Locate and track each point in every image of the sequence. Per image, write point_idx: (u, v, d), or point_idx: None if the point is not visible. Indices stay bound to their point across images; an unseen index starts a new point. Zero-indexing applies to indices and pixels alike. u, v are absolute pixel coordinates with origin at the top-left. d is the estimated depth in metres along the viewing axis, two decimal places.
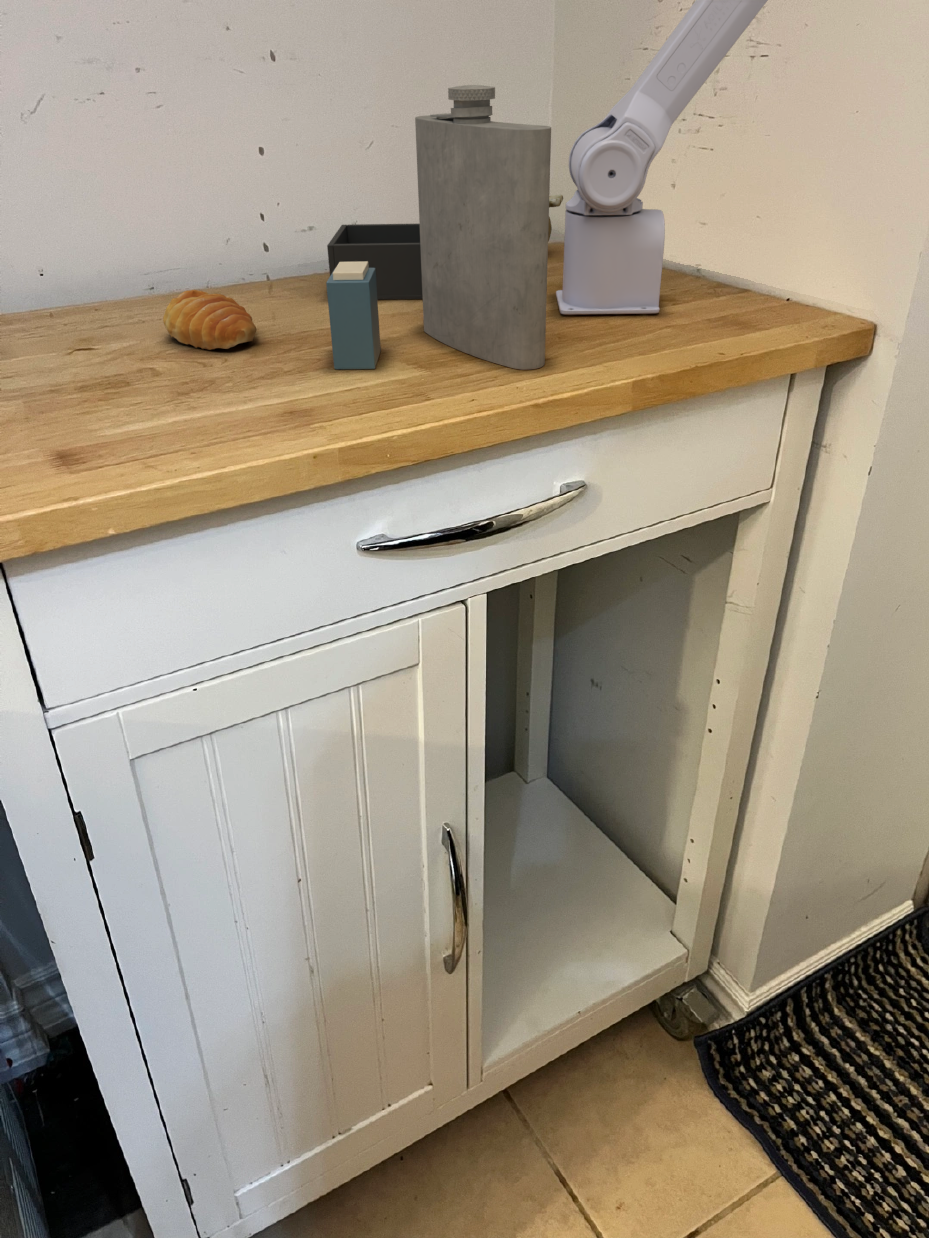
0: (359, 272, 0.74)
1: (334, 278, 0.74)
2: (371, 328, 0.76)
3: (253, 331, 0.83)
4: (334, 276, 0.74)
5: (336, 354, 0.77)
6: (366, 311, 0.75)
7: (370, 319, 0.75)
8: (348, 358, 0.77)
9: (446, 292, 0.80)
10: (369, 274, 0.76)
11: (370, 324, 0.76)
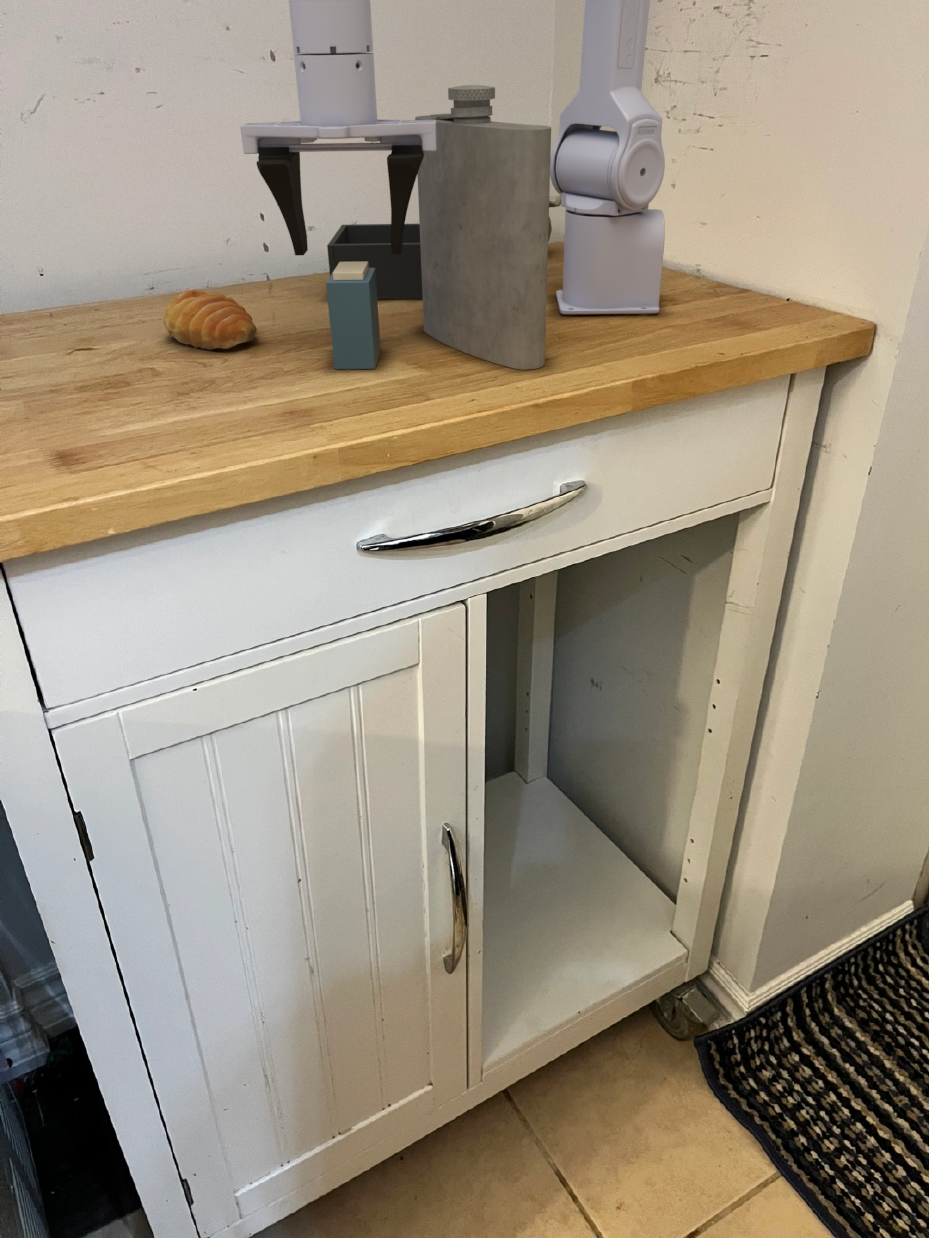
0: (359, 272, 0.74)
1: (334, 278, 0.74)
2: (371, 328, 0.76)
3: (253, 331, 0.83)
4: (334, 276, 0.74)
5: (336, 354, 0.77)
6: (366, 311, 0.75)
7: (370, 319, 0.75)
8: (348, 358, 0.77)
9: (446, 292, 0.80)
10: (369, 274, 0.76)
11: (370, 324, 0.76)
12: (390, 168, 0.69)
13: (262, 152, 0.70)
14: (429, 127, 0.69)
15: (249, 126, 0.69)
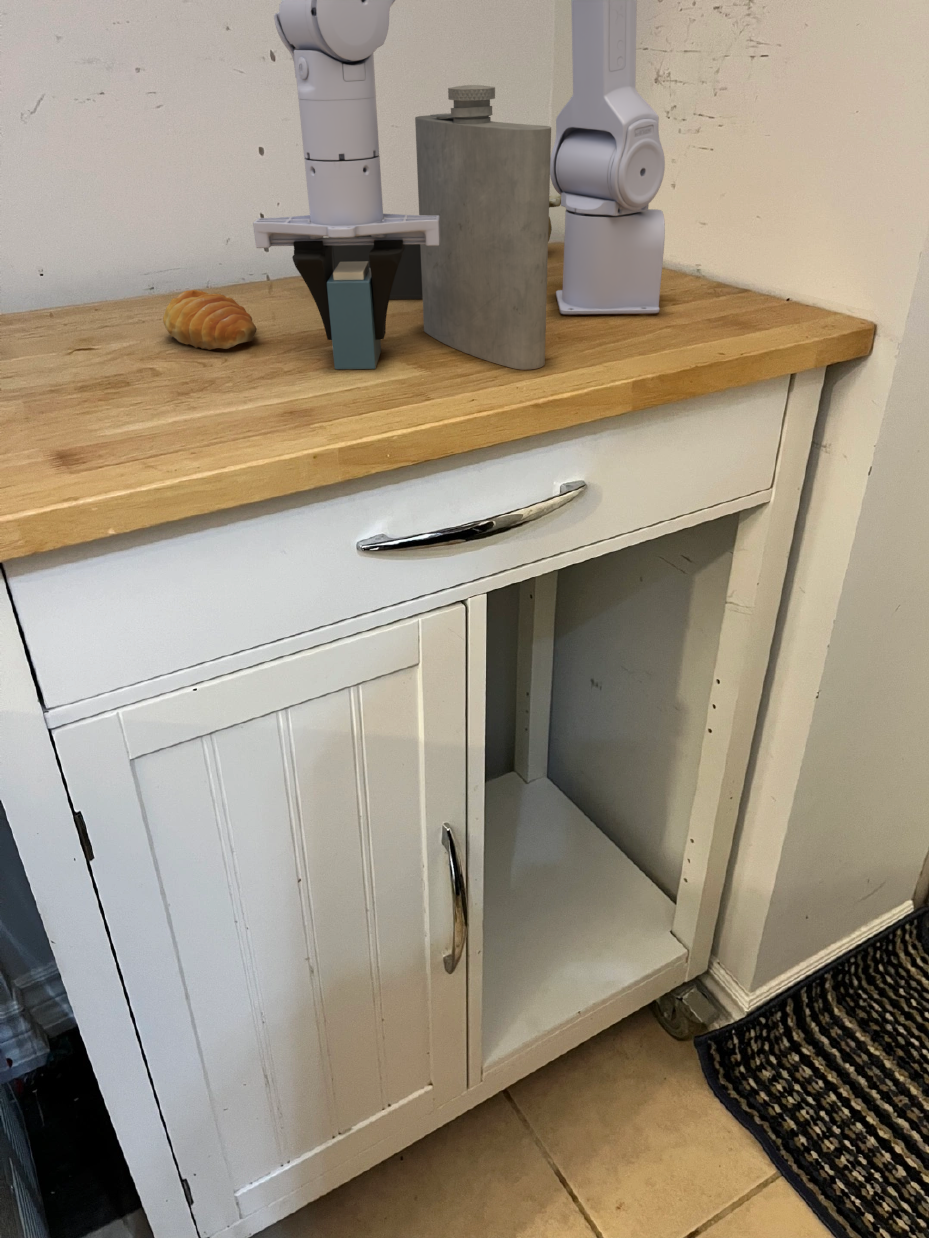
0: (359, 272, 0.74)
1: (334, 278, 0.74)
2: (371, 328, 0.76)
3: (253, 331, 0.83)
4: (334, 276, 0.74)
5: (336, 354, 0.77)
6: (367, 311, 0.75)
7: (370, 319, 0.75)
8: (349, 358, 0.77)
9: (446, 292, 0.80)
10: (369, 274, 0.76)
11: (370, 324, 0.76)
12: (372, 263, 0.73)
13: None
14: (432, 224, 0.73)
15: (261, 223, 0.73)
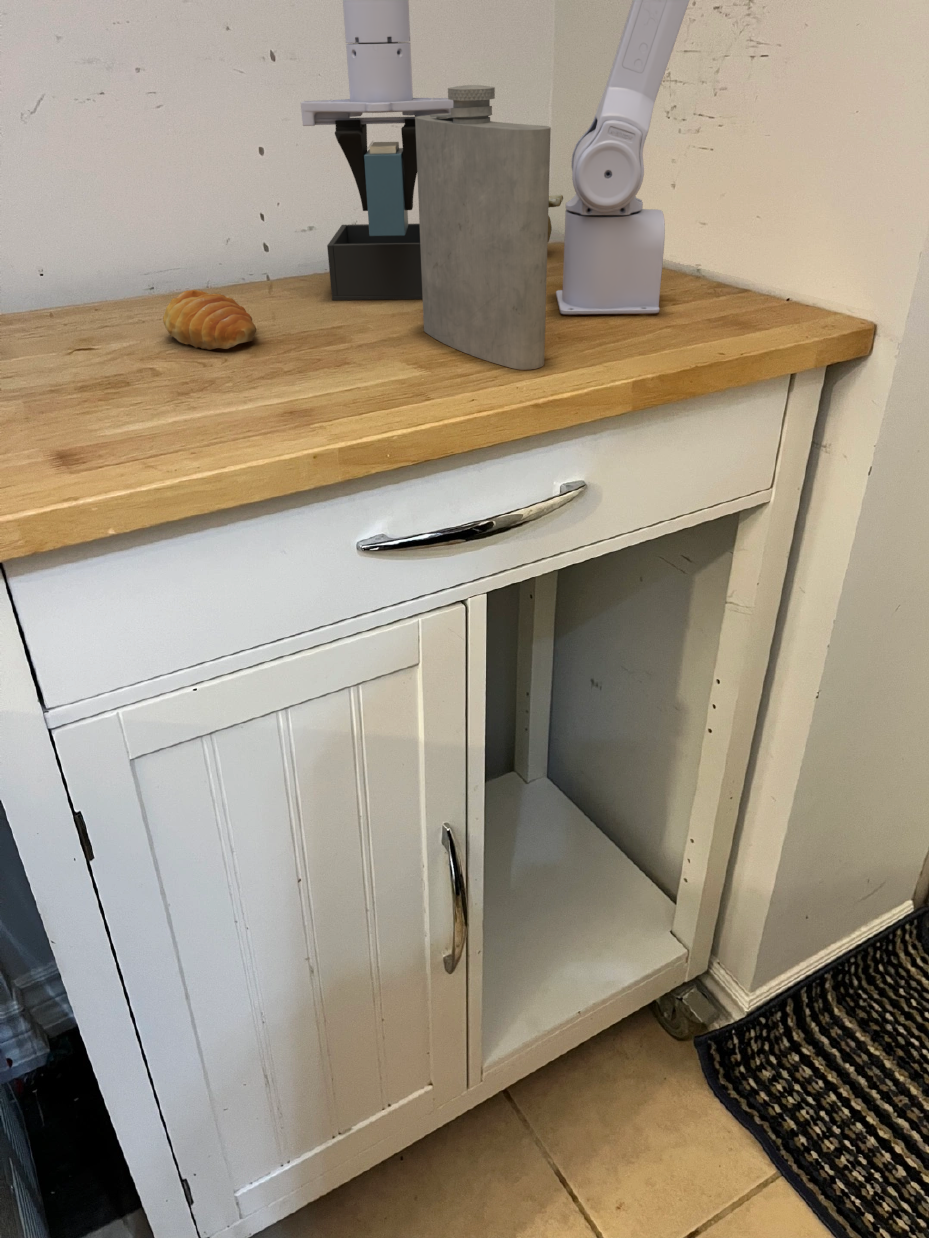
0: (392, 146, 0.86)
1: (371, 152, 0.86)
2: (402, 197, 0.87)
3: (253, 331, 0.83)
4: (371, 150, 0.86)
5: (371, 222, 0.89)
6: (398, 182, 0.87)
7: (401, 189, 0.87)
8: (382, 225, 0.89)
9: (446, 292, 0.80)
10: (400, 151, 0.87)
11: (401, 194, 0.87)
12: (404, 137, 0.85)
13: (318, 124, 0.86)
14: None
15: (308, 103, 0.85)
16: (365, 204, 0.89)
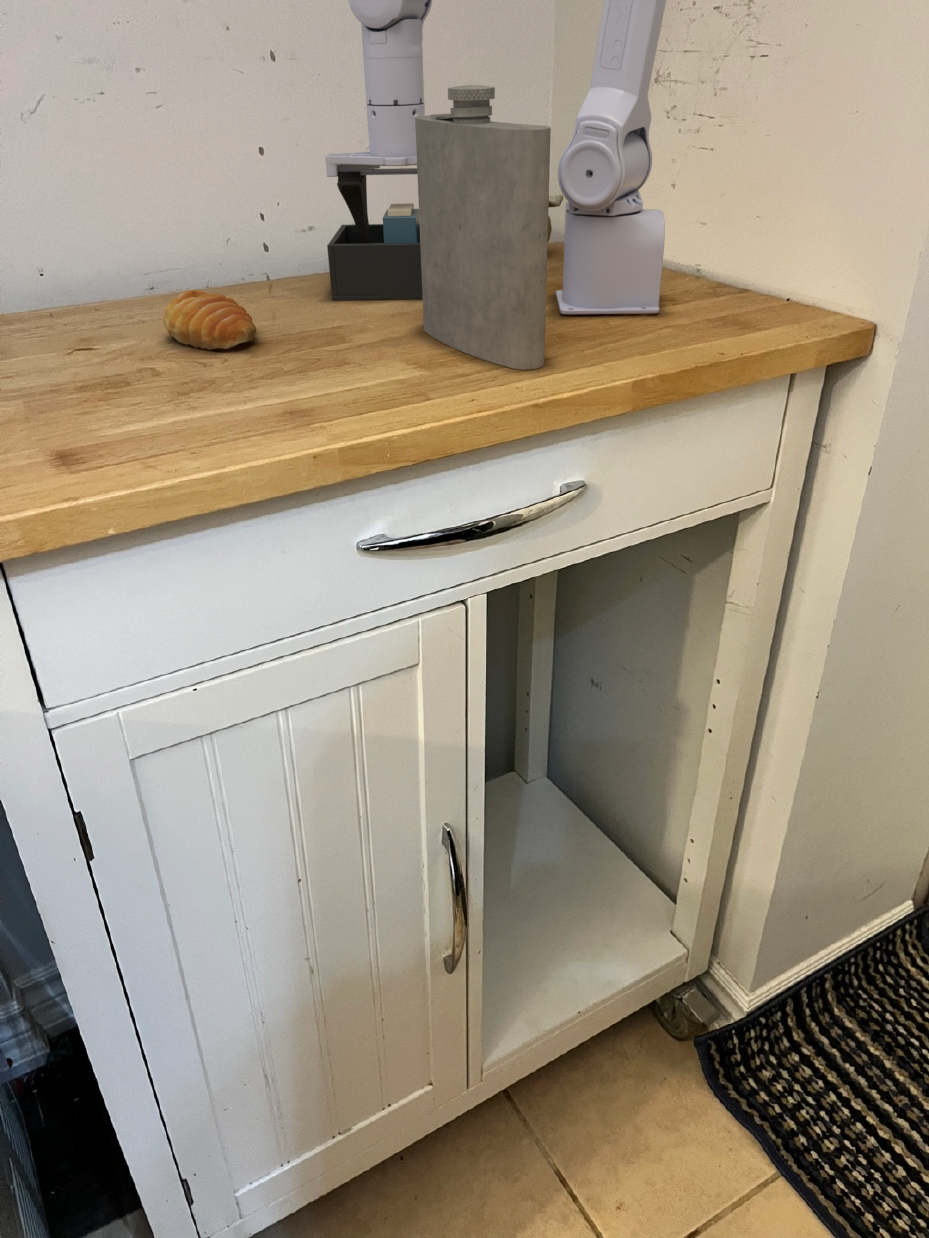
0: (408, 210, 0.96)
1: (388, 214, 0.96)
2: None
3: (253, 331, 0.83)
4: (388, 213, 0.96)
5: None
6: (413, 241, 0.97)
7: None
8: None
9: (446, 292, 0.80)
10: (415, 212, 0.97)
11: None
12: None
13: (340, 175, 0.95)
14: None
15: (332, 156, 0.94)
16: None
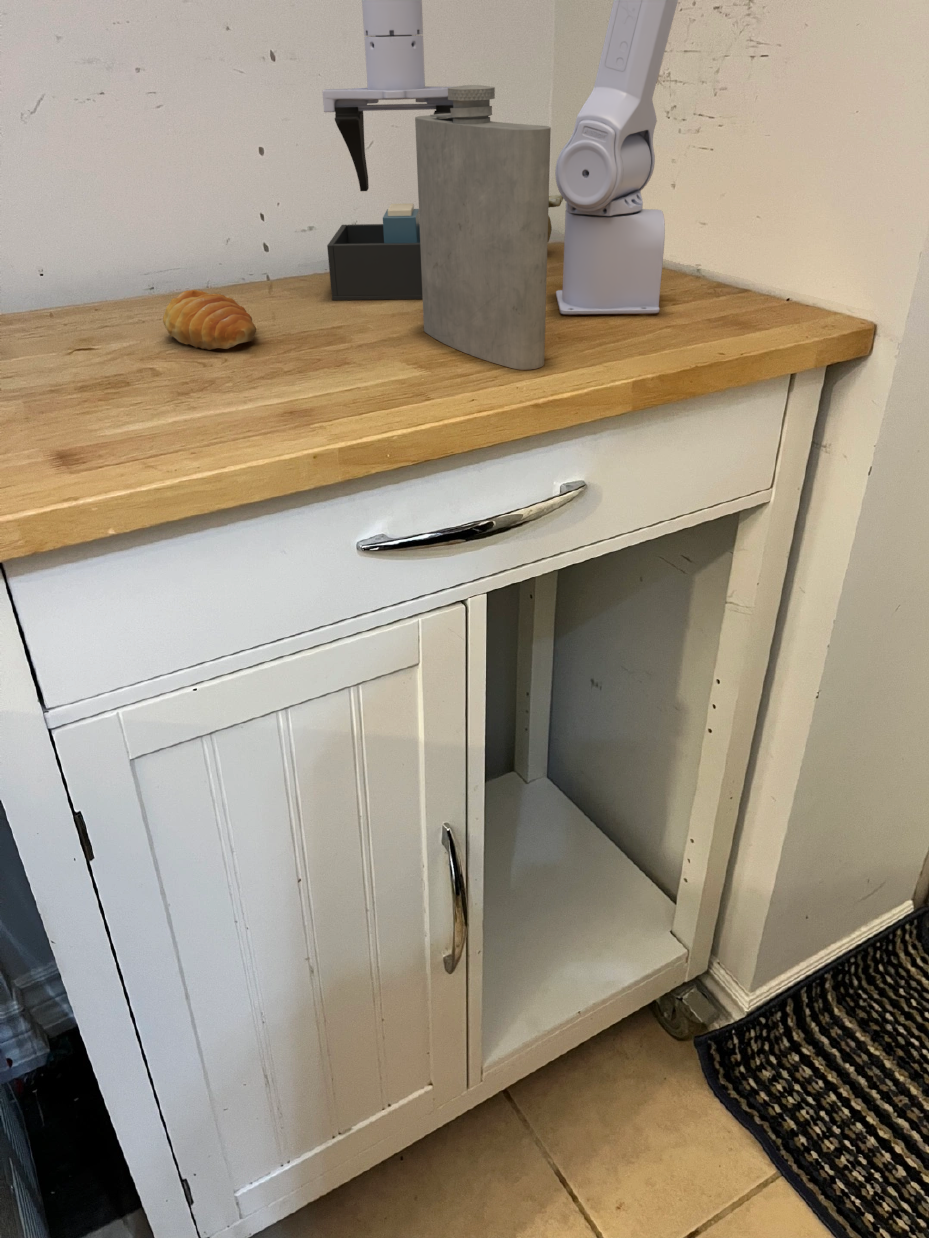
0: (408, 210, 0.96)
1: (388, 214, 0.96)
2: None
3: (253, 331, 0.83)
4: (388, 213, 0.96)
5: None
6: (413, 241, 0.97)
7: None
8: None
9: (446, 292, 0.80)
10: (415, 212, 0.97)
11: None
12: None
13: (338, 111, 0.93)
14: None
15: (329, 91, 0.92)
16: (362, 185, 0.97)
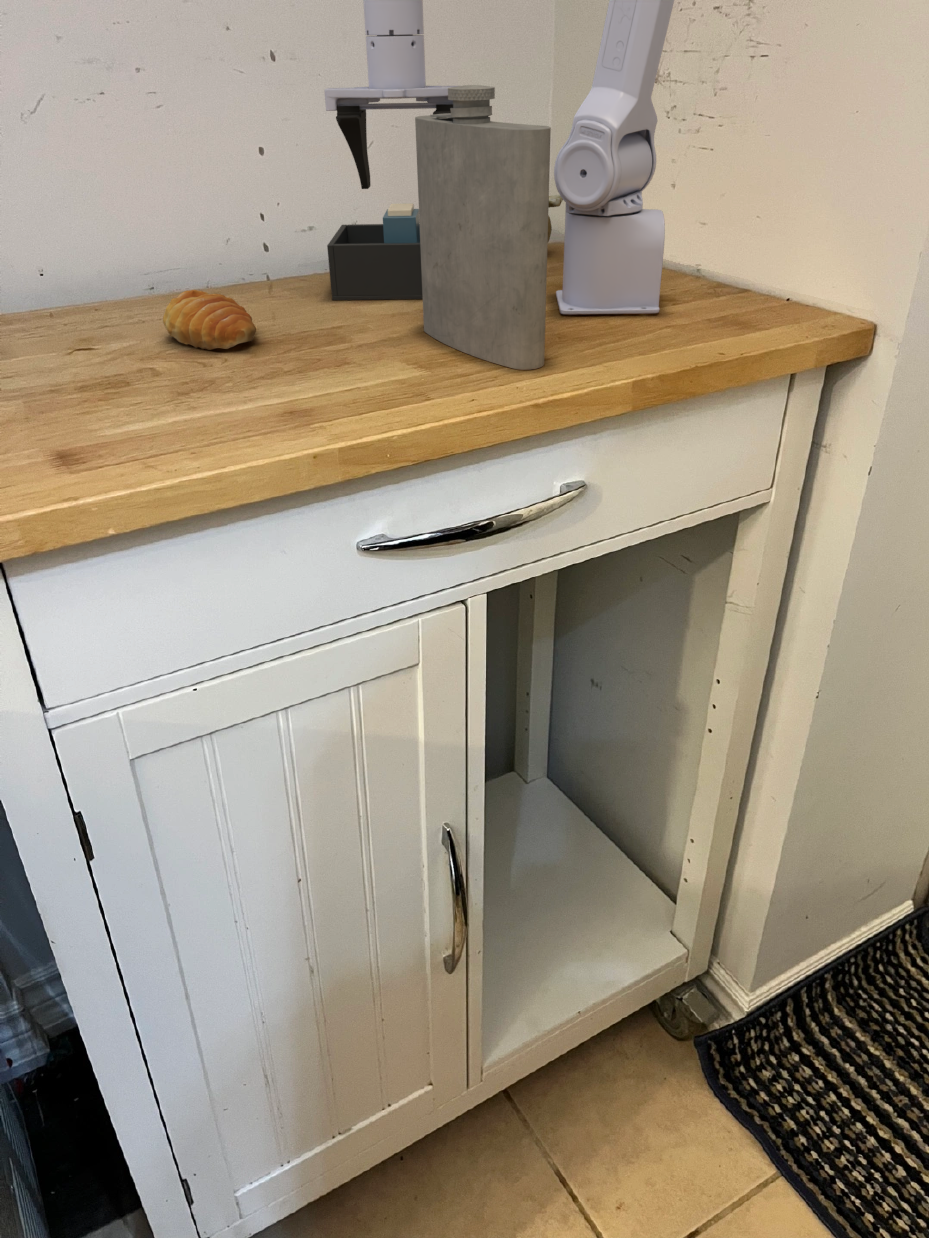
0: (408, 210, 0.96)
1: (388, 214, 0.96)
2: None
3: (253, 331, 0.83)
4: (388, 213, 0.96)
5: None
6: (413, 241, 0.97)
7: None
8: None
9: (446, 292, 0.80)
10: (415, 212, 0.97)
11: None
12: None
13: (340, 109, 0.95)
14: None
15: (331, 90, 0.94)
16: (363, 183, 0.98)
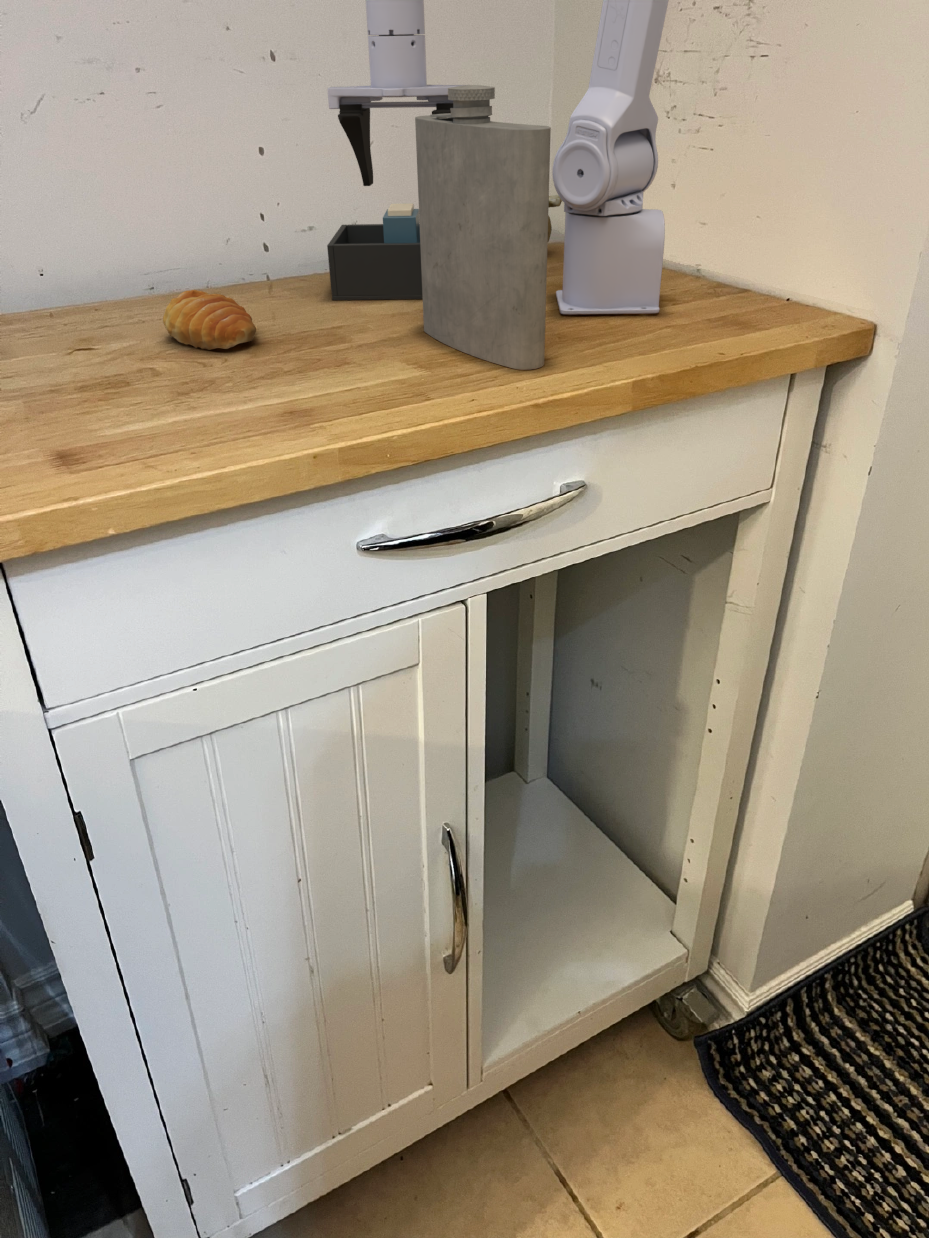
0: (408, 210, 0.96)
1: (388, 214, 0.96)
2: None
3: (253, 331, 0.83)
4: (388, 213, 0.96)
5: None
6: (413, 241, 0.97)
7: None
8: None
9: (446, 292, 0.80)
10: (415, 212, 0.97)
11: None
12: None
13: (342, 108, 0.97)
14: None
15: (333, 88, 0.95)
16: (365, 180, 1.00)
